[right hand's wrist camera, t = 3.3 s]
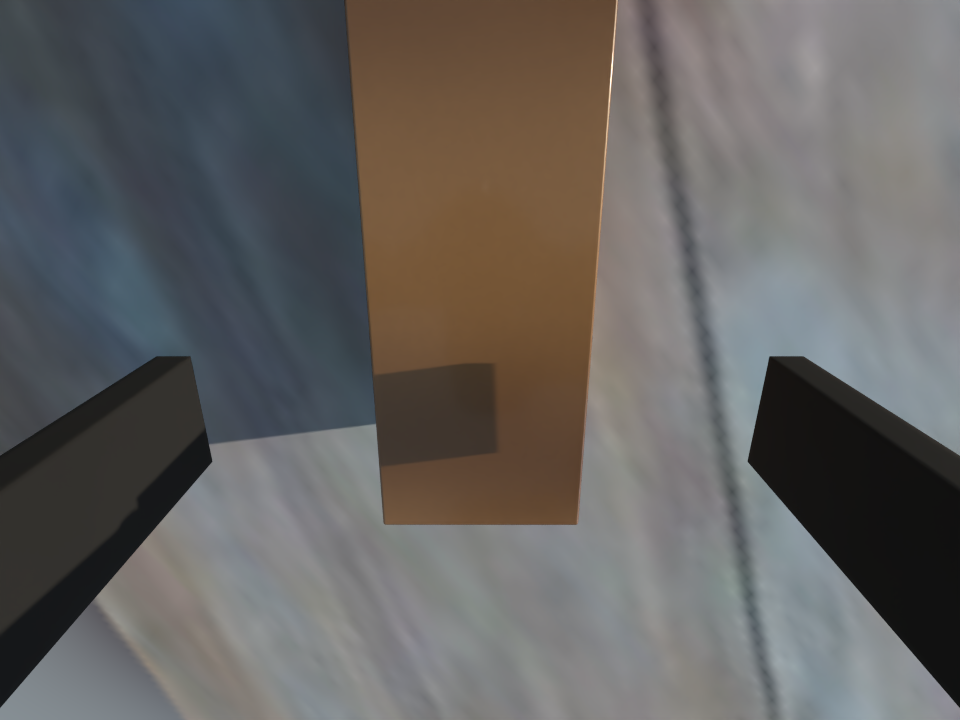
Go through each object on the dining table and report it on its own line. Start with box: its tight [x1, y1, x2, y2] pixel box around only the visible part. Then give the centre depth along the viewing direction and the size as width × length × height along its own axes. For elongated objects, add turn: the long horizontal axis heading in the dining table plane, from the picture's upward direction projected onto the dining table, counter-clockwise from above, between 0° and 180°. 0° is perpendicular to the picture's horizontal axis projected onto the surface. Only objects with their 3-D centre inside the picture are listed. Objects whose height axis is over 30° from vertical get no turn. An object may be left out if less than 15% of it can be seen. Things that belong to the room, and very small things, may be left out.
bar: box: [344, 0, 618, 525], centre depth 15 cm, size 28×6×8 cm, turn 0°
